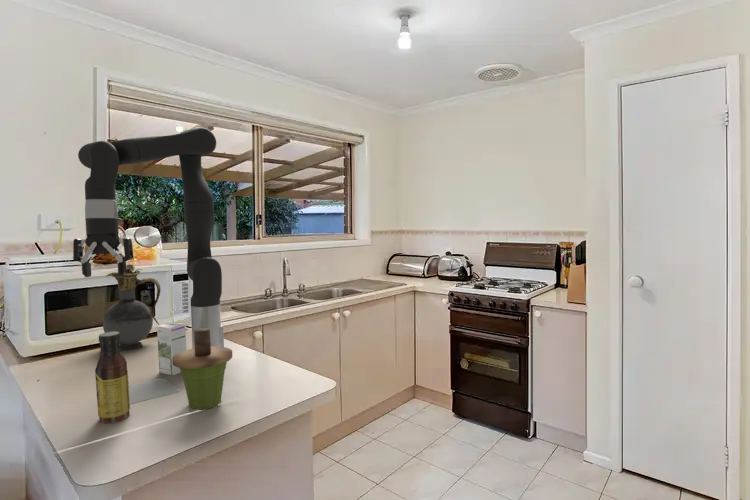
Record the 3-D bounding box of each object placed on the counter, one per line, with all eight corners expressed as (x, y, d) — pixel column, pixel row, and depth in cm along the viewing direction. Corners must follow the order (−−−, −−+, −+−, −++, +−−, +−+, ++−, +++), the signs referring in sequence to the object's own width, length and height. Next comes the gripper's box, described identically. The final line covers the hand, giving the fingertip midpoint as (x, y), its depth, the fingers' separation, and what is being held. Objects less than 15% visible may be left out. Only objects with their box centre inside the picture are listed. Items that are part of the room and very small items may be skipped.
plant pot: (173, 403, 107) (171, 358, 106) (221, 391, 114) (220, 349, 113) (185, 419, 97) (183, 370, 97) (237, 405, 105) (236, 360, 104)
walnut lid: (218, 348, 115) (217, 321, 114) (242, 359, 105) (241, 329, 104) (164, 359, 105) (163, 330, 105) (184, 372, 96) (183, 340, 95)
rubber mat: (163, 379, 124) (163, 377, 124) (179, 392, 113) (179, 391, 113) (106, 392, 114) (106, 390, 114) (119, 408, 104) (119, 406, 104)
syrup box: (188, 370, 131) (186, 323, 130) (171, 376, 125) (169, 327, 125) (174, 368, 133) (173, 321, 132) (158, 374, 128) (156, 325, 127)
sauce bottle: (107, 413, 101) (103, 329, 100) (135, 412, 102) (131, 328, 100) (91, 426, 95) (86, 337, 93) (121, 425, 95) (117, 336, 94)
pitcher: (101, 348, 156) (97, 265, 154) (158, 338, 169) (155, 261, 167) (107, 355, 148) (103, 267, 146) (167, 344, 161) (163, 263, 159)
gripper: (65, 217, 113) (68, 278, 114) (123, 216, 114) (126, 277, 115) (81, 217, 120) (84, 275, 121) (135, 216, 122) (138, 274, 123)
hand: (104, 276), depth 118 cm, fingers open, 8 cm apart
